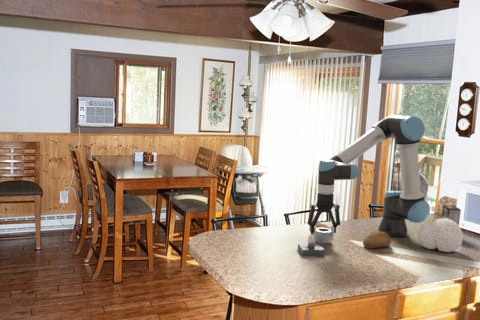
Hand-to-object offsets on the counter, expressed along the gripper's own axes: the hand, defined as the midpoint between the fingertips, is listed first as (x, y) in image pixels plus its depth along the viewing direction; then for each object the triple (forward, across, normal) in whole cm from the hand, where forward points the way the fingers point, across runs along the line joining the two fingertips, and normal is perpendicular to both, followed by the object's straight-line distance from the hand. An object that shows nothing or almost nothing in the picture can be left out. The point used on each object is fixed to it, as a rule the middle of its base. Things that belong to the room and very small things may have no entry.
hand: (323, 239), depth 226 cm
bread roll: (+4, -27, 0) cm, 28 cm away
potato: (+4, -2, -11) cm, 12 cm away
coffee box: (+6, -76, -20) cm, 79 cm away
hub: (0, 0, 0) cm, 0 cm away
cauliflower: (+5, -57, +4) cm, 57 cm away
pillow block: (+3, +9, +10) cm, 14 cm away
